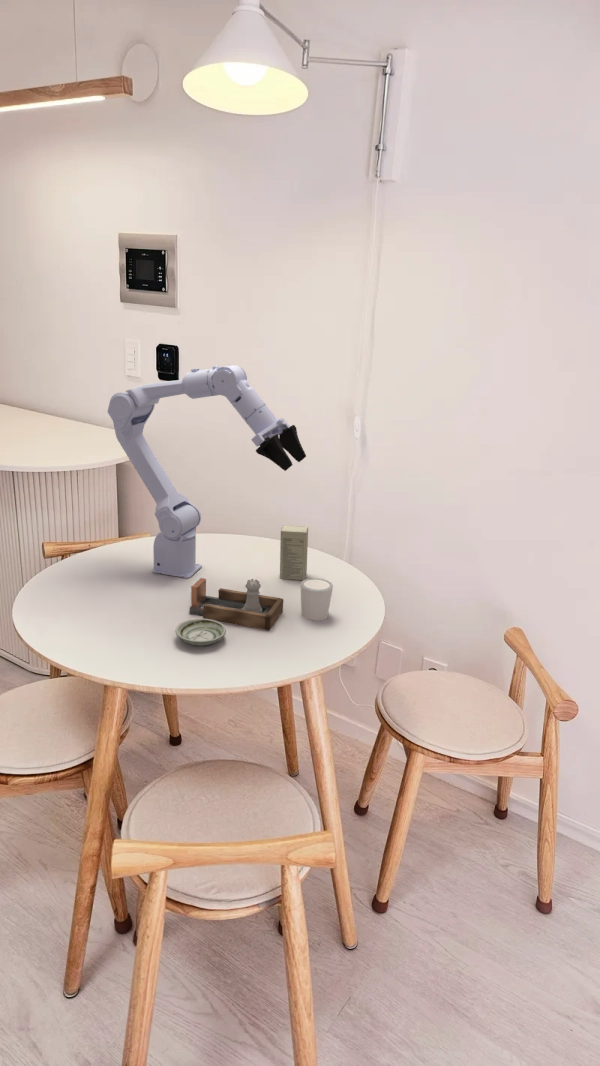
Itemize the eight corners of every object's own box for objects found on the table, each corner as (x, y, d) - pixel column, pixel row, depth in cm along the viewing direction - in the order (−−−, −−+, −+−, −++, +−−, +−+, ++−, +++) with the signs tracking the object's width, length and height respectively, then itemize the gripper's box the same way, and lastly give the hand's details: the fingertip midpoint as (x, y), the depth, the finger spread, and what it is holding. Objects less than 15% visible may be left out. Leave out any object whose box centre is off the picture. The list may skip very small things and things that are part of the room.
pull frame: (189, 612, 145) (189, 588, 144) (202, 600, 152) (202, 576, 150) (261, 625, 142) (262, 600, 140) (271, 611, 148) (272, 587, 146)
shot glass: (314, 604, 153) (316, 575, 151) (337, 615, 148) (339, 585, 146) (291, 613, 148) (293, 582, 146) (314, 624, 144) (317, 593, 141)
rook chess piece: (267, 617, 146) (268, 582, 143) (251, 623, 143) (252, 587, 140) (252, 610, 149) (253, 575, 146) (236, 616, 146) (237, 580, 143)
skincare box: (306, 574, 169) (309, 526, 165) (305, 581, 165) (308, 532, 161) (280, 571, 169) (282, 524, 165) (278, 578, 165) (280, 530, 161)
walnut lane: (203, 618, 143) (203, 605, 142) (220, 600, 152) (220, 588, 151) (269, 630, 140) (269, 617, 139) (282, 611, 149) (283, 598, 148)
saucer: (211, 657, 129) (211, 645, 129) (166, 645, 132) (165, 634, 132) (234, 634, 138) (234, 623, 137) (190, 624, 141) (190, 614, 140)
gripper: (253, 407, 140) (295, 460, 140) (282, 396, 152) (321, 444, 153) (231, 428, 143) (272, 480, 144) (261, 416, 156) (299, 463, 156)
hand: (296, 463), depth 148 cm, fingers open, 7 cm apart
